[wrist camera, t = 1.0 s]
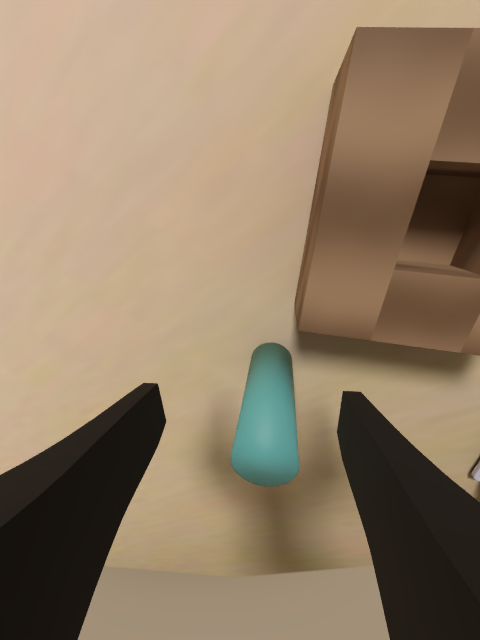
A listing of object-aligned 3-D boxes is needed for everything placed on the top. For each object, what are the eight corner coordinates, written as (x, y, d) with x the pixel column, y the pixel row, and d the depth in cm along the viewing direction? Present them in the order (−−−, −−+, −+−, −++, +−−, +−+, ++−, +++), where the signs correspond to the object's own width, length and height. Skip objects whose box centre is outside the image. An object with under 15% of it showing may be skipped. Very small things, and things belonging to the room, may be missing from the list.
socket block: (478, 326, 17) (542, 363, 13) (294, 303, 18) (298, 330, 14) (598, 93, 12) (768, 30, 8) (333, 84, 13) (356, 27, 9)
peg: (288, 380, 21) (292, 492, 12) (249, 374, 21) (228, 479, 13) (295, 345, 19) (304, 446, 11) (253, 340, 20) (233, 432, 11)
